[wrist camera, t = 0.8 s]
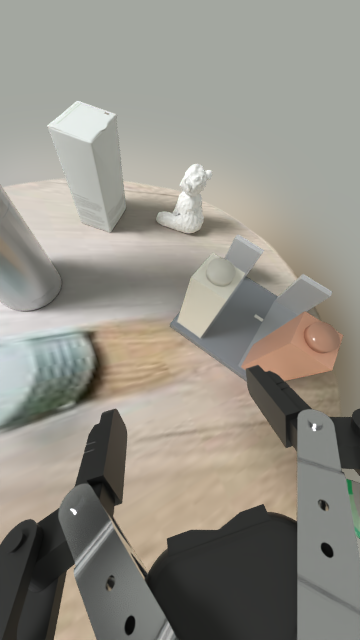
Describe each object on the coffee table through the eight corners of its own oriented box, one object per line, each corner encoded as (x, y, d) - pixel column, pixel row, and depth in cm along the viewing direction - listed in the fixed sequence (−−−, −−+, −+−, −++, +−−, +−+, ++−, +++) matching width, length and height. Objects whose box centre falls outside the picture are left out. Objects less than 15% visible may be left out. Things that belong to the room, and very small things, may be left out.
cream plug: (177, 321, 32) (193, 270, 21) (192, 302, 34) (215, 246, 22) (200, 338, 32) (230, 295, 20) (214, 317, 34) (249, 267, 22)
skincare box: (100, 199, 44) (76, 98, 29) (129, 209, 44) (119, 112, 29) (80, 224, 40) (42, 122, 26) (111, 235, 40) (91, 139, 26)
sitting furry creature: (184, 203, 47) (195, 141, 36) (212, 225, 45) (232, 166, 34) (154, 221, 43) (156, 157, 32) (183, 245, 41) (195, 186, 31)
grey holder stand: (169, 326, 34) (175, 302, 26) (219, 265, 41) (235, 232, 33) (266, 395, 31) (302, 390, 24) (301, 317, 38) (338, 294, 31)
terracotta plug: (240, 366, 31) (297, 339, 19) (253, 344, 33) (311, 306, 21) (266, 385, 30) (341, 368, 18) (277, 361, 32) (351, 331, 20)
